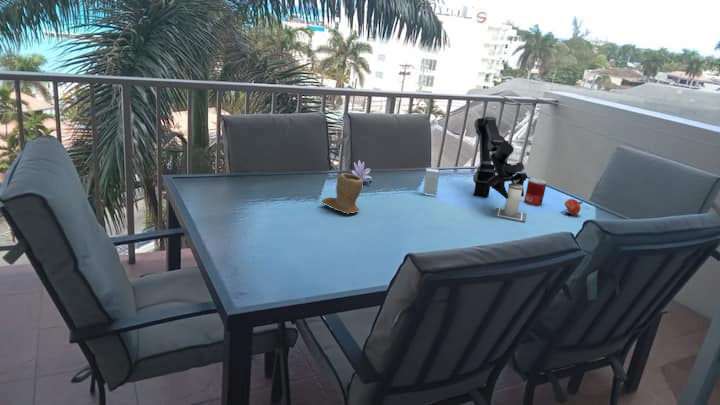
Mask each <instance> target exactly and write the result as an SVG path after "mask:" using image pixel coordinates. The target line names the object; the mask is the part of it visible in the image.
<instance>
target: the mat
mask: <svg viewBox="0 0 720 405" xmlns="http://www.w3.org/2000/svg"><path fill="white" fill-rule="evenodd" d="M493 218H500V219H504V220H510V221H515V222H520V223H523V224H525V223H526V221H527V213H526V212H521V211H518V213H517V216H515V217H511V216H507V215H505V214H504V208H500V207H495V210H494V213H493Z"/></svg>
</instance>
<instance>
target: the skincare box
mask: <svg viewBox="0 0 720 405" xmlns="http://www.w3.org/2000/svg"><path fill="white" fill-rule="evenodd" d="M424 175H425V176H424V186H423V191H424V193H427V194H433V195H436V196H437V193H438V187H439V186H438V184H439V179H440V177H439V176H440V170H439V169H433V168H426V169H425V174H424Z"/></svg>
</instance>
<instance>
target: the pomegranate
mask: <svg viewBox="0 0 720 405" xmlns="http://www.w3.org/2000/svg"><path fill="white" fill-rule="evenodd" d="M581 204H583V201H578V200H576V199H574V198H573V199H572V198H569V199H567V201H565V202H564V206H565V207H566V209H564V210H563V211H560V213H563V212H566V211H568V213H569V214H570V215H571V216H576V215H578V214H580V211H581V209H582V208H581Z"/></svg>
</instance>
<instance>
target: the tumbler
mask: <svg viewBox="0 0 720 405" xmlns="http://www.w3.org/2000/svg"><path fill="white" fill-rule="evenodd" d="M522 189H523V190H524V185H523V186H522V185H520V184H515V183H512V182H511V183H508V188H507V194H508V197H509V198H508V199H506V198H505V199H506V200H505V204H504V208H503V209H504V214H505V215H507V216H511V217H515V216H517V213H518V212H519V207H520V202H521V198H522V197H521V194H522Z"/></svg>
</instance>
